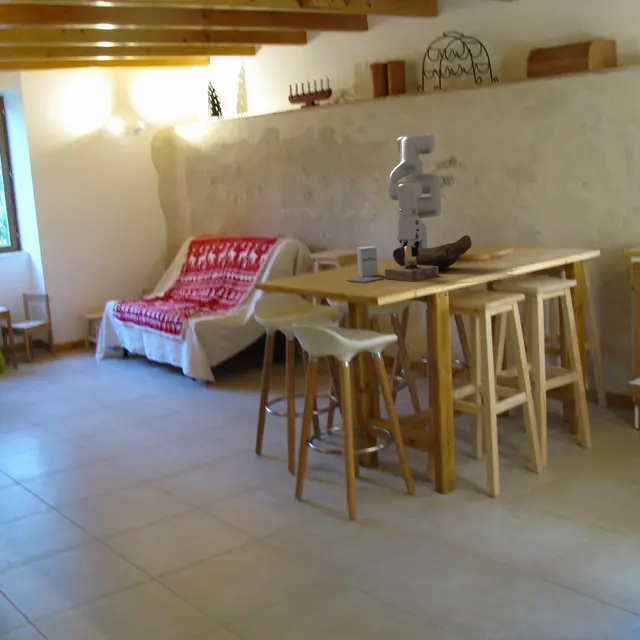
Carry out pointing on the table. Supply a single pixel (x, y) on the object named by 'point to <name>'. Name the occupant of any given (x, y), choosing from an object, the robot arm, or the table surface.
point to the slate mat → (365, 279)
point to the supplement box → (367, 261)
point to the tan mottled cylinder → (410, 258)
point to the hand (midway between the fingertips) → (410, 255)
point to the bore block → (411, 273)
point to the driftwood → (437, 254)
